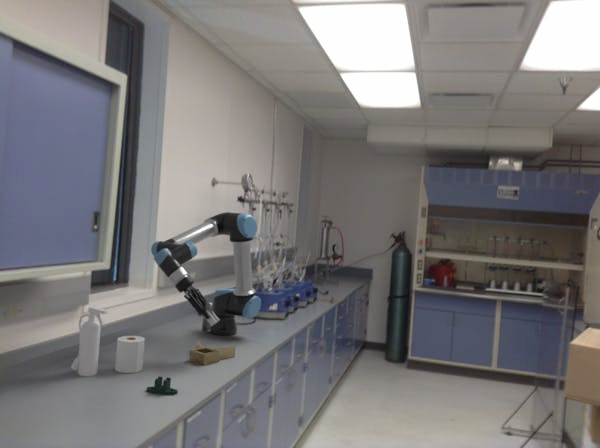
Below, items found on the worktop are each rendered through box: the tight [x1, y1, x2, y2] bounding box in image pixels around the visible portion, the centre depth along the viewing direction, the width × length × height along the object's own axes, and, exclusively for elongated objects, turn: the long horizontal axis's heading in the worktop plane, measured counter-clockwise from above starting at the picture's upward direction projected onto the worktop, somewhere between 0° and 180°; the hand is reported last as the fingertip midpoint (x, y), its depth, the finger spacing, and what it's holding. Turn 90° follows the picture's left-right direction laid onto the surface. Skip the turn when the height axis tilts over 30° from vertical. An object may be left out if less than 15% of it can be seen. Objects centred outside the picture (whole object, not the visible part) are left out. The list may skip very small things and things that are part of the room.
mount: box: [146, 375, 179, 396], centre depth 184 cm, size 11×4×5 cm, turn 85°
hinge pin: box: [201, 301, 214, 333], centre depth 224 cm, size 4×4×12 cm
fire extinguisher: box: [70, 306, 109, 377], centre depth 196 cm, size 7×12×25 cm, turn 77°
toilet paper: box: [114, 335, 146, 374], centre depth 205 cm, size 10×10×12 cm
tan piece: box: [189, 341, 236, 366], centre depth 232 cm, size 20×18×4 cm
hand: (215, 323), depth 224 cm, fingers closed on hinge pin, 3 cm apart
